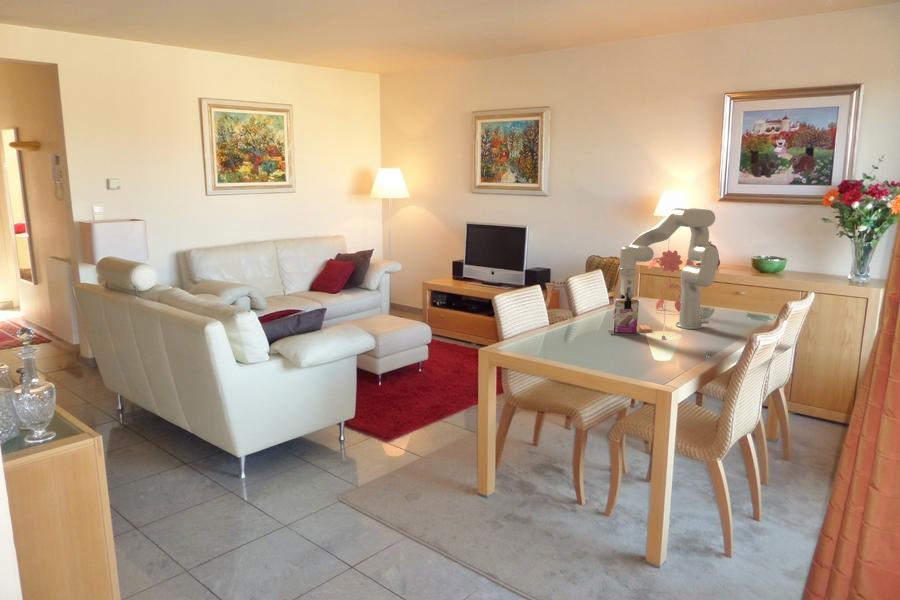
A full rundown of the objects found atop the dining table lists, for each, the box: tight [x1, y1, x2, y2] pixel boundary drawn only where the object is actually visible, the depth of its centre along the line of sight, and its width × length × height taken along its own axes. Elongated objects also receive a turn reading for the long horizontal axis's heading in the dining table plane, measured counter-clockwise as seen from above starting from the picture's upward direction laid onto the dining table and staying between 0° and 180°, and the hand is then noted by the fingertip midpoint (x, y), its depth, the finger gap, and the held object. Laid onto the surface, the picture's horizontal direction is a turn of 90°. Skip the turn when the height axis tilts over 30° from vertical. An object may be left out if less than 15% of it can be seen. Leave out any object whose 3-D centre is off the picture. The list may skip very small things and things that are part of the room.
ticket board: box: [637, 324, 652, 333], centre depth 330 cm, size 6×8×2 cm
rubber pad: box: [608, 329, 641, 336], centre depth 324 cm, size 14×7×1 cm, turn 87°
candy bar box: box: [612, 298, 639, 333], centre depth 322 cm, size 11×5×16 cm, turn 85°
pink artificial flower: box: [647, 249, 695, 316], centre depth 368 cm, size 15×26×35 cm, turn 56°
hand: (625, 306), depth 321 cm, fingers open, 9 cm apart
